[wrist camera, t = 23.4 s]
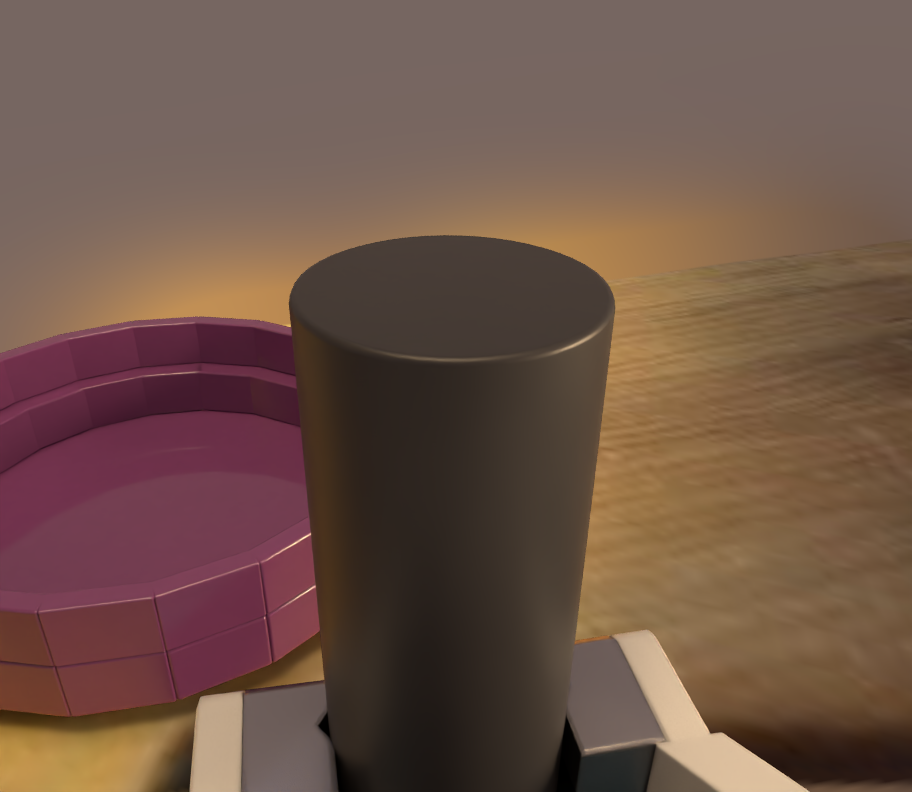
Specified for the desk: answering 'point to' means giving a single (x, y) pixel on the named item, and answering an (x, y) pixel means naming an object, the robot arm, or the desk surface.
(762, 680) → the desk surface
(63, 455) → the plum bowl
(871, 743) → the desk surface
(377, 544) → the dish brush
